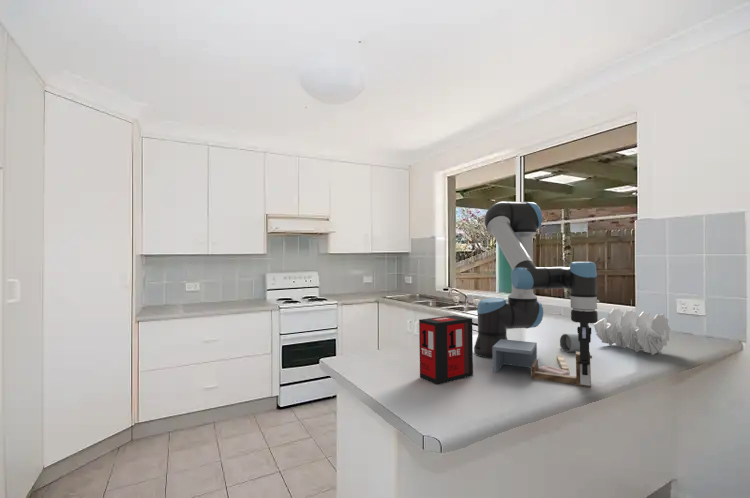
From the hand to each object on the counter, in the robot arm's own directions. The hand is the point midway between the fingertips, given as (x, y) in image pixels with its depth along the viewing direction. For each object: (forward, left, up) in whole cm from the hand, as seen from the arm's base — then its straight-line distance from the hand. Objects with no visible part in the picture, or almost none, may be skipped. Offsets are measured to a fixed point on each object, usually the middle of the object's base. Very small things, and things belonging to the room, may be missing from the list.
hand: (585, 381), depth 122 cm
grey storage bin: (-22, +6, -1) cm, 23 cm away
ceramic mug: (-6, +47, -1) cm, 47 cm away
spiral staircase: (+17, +60, -1) cm, 62 cm away
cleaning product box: (-42, -13, -1) cm, 44 cm away
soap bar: (-10, +6, -2) cm, 12 cm away
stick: (-8, +20, -2) cm, 22 cm away
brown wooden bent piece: (-7, +4, -1) cm, 8 cm away
